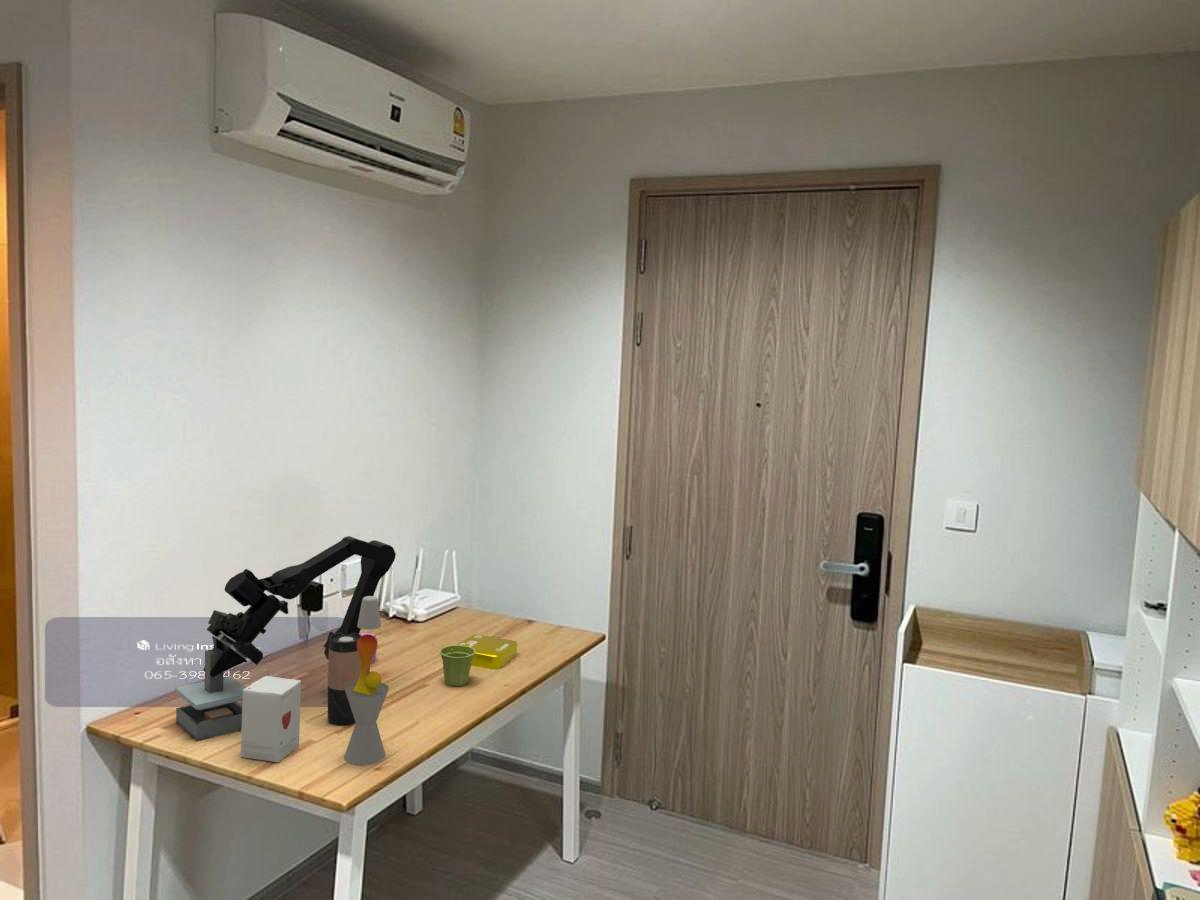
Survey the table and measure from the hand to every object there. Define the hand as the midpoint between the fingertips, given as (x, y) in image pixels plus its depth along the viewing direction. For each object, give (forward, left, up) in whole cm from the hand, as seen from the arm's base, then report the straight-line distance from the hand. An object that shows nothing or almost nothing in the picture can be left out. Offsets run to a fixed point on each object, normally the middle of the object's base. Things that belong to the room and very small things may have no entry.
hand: (207, 673), depth 201 cm
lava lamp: (-39, +7, -13) cm, 41 cm away
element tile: (-51, -60, -13) cm, 80 cm away
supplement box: (-19, +9, -13) cm, 24 cm away
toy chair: (-18, -48, -13) cm, 53 cm away
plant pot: (-48, -39, -13) cm, 63 cm away
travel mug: (-28, -10, -13) cm, 32 cm away
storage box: (-1, -1, -12) cm, 12 cm away
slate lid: (-1, -1, -6) cm, 6 cm away
